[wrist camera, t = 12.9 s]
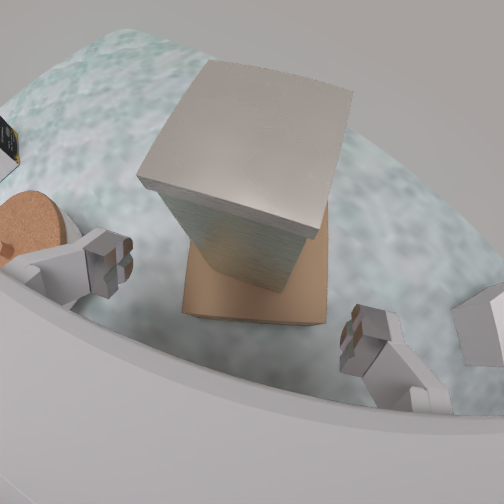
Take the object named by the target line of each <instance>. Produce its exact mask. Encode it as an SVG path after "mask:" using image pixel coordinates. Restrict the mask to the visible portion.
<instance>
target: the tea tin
mask: <svg viewBox="0 0 504 504" xmlns="http://www.w3.org/2000/svg"><path fill="white" fill-rule="evenodd" d="M352 96H353V91H350V90H347V89H344V88H340V87H337V86H334V85H331V84H327V83H324V82H320V81H317V80H313V79H309V78H305V77H301V76H297V75H293V74H289V73H284V72H280V71H275V70H270V69H265V68H260V67H254V66H249V65H243V64H236V63H230V62H223V61H215V60H208V62H207V63H206V64H205V66H204V67H203V68H202V70H201V71H200V73H199V74H198V75H197V77H196V78H195V80H194V81H193V82H192V84H191V85H190V87H189V88H188V90H187V91H186V93H185V94H184V96H183V97H182V98H181V100H180V102H179V103H178V105H177V106H176V108H175V109H174V111H173V112H172V114H171V115H170V117H169V119H168V120H167V122H166V123H165V125H164V127H163V128H162V130H161V132H160V133H159V135H158V137H157V138H156V140H155V142H154V143H153V145H152V147H151V149H150V150H149V152H148V154H147V156H146V157H145V159H144V161H143V163H142V165H141V166H140V168H139V170H138V172H137V174H136V176H137V177H138V179H139V180H140V181H141V183H142V184H143V185H144V187H145V188H146V189H149V190H152V191H156V192H157V193H158V194H159V195H160V197H161V198H162V200H163V201H164V203H165V204H166V206H167V207H168V208H169V210H170V211H171V213H172V214H173V215H174V217H175V218H176V220H177V221H178V222H179V224H180V225H181V227H182V228H183V229H184V231H185V232H186V234H187V235H188V236H189V238H190V239H191V241H192V242H193V243H194V245H195V246H196V248H197V249H198V250H199V252H200V253H201V254H202V256H203V257H204V258H205V260H206V261H207V263H208V264H209V265H210V267H211V268H212V269H213V271H216V272H219V273H222V274H225V275H227V276H230V277H233V278H236V279H239V280H242V281H245V282H248V283H251V284H254V285H257V286H260V287H263V288H266V289H269V290H272V291H275V292H278V293H281V294H282V292H283V290H284V288H285V286H286V283H287V281H288V279H289V277H290V275H291V273H292V271H293V268H294V266H295V264H296V262H297V260H298V258H299V255H300V253H301V251H302V249H303V247H304V244H305V242H306V240H307V238H309V239H312V240H314V239H315V237H316V235H317V233H318V231H319V229H320V225H321V222H322V218H323V215H324V211H325V207H326V204H327V200H328V196H329V193H330V189H331V185H332V181H333V177H334V174H335V170H336V166H337V162H338V158H339V154H340V149H341V145H342V141H343V137H344V133H345V128H346V124H347V120H348V115H349V110H350V106H351V101H352Z"/></svg>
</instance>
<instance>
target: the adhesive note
mask: <svg viewBox="0 0 504 504" xmlns="http://www.w3.org/2000/svg"><path fill="white" fill-rule="evenodd" d="M451 312H452V315H453V318H454V322H455V325H456V329H457V333H458V337H459V340H460V344H461V348H462V353H463V357H464V361H465V365H470V366H490V367H504V283H501V284H498V285H495V286H491V287H488V288H486V289H484V290H483V291H481V292H480V293H478V294H477V295H475V296H474V297H472V298H470V299H469V300H467V301H466V302H464V303H462V304H461V305H459V306H457V307H456V308H454V309H452V310H451Z"/></svg>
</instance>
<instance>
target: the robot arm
mask: <svg viewBox="0 0 504 504" xmlns="http://www.w3.org/2000/svg"><path fill="white" fill-rule="evenodd" d="M132 249H133V241H132V239H131V238H130V237H127V236H124V235H121V234H118V233H115V232H112V231H109V230H106V229H103V228H100V227H96V228H95V229H93V230H92V231H90V232H89V233H87V234H86V235H85V236H83V237H82V238H80V239H79V240H77V241H76V242H75V243H73V244H72V245H71V244H65V245H61V246H56V247H52V248H47V249H43V250H39V251H35V252H30V253H26V254H22V255H18V256H16V257H15V258H14V259H12V260H11V261H10V262H8V263H7V264H6V265H4V266H3V267H2V268H0V504H504V416H460V415H454V413H453V409H452V404H451V400H450V396H449V392H448V390H447V388H446V387H445V386H444V385H443V384H442V383H441V381H440V380H439V379H438V378H437V377H436V376H435V374H434V373H433V372H432V371H431V370H430V369H429V368H428V366H427V365H426V364H425V363H424V362H423V361H422V360H421V359H420V357H419V356H418V355H417V354H416V353H415V352H414V351H413V350H412V348H411V347H410V346H408V345H405V341H404V337H403V333H402V329H401V325H400V321H399V317H398V315H397V313H394V312H390V311H385V310H380V309H376V308H372V307H368V306H364V305H359V304H357V305H356V306H355V307H354V309H353V311H352V313H351V314H352V320H350V321H348V322H347V323H346V325H345V327H344V329H343V331H342V335H341V339H340V349H341V350H342V352H343V353H342V355H341V356H340V372H341V373H345V374H349V375H353V376H358V377H362V380H363V381H364V383H365V385H366V387H367V389H368V390H369V392H370V394H371V396H372V398H373V399H374V401H375V403H376V405H377V407H378V408H374V407H368V406H361V405H355V404H349V403H343V402H338V401H332V400H327V399H322V398H317V397H313V396H308V395H304V394H299V393H295V392H291V391H287V390H283V389H279V388H275V387H271V386H268V385H264V384H260V383H257V382H253V381H250V380H246V379H243V378H239V377H236V376H233V375H229V374H226V373H223V372H220V371H217V370H214V369H211V368H208V367H205V366H202V365H199V364H196V363H193V362H190V361H187V360H184V359H182V358H179V357H176V356H173V355H171V354H168V353H166V352H163V351H160V350H158V349H155V348H153V347H150V346H148V345H145V344H143V343H140V342H138V341H136V340H133V339H131V338H128V337H126V336H124V335H122V334H119V333H117V332H115V331H113V330H110V329H108V328H106V327H104V326H102V325H99V324H97V323H95V322H93V321H91V320H89V319H87V318H85V317H83V316H81V315H79V314H77V313H75V312H73V311H71V310H69V309H67V308H65V307H63V305H65V304H67V303H69V302H72V301H74V300H76V299H78V298H81V297H83V296H85V295H88V294H90V292H91V293H94V294H96V295H99V296H101V297H104V298H107V299H110V298H111V296H112V295H113V294H114V293H115V292H116V291H117V290H118V284H121V283H124V282H126V280H127V279H128V278H129V277H130V274H131V272H132V269H133V258H132V256H131V255H130V252H131V250H132Z"/></svg>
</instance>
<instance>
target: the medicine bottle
mask: <svg viewBox="0 0 504 504" xmlns="http://www.w3.org/2000/svg"><path fill="white" fill-rule="evenodd" d="M18 165H19V154H18V139H17V133H16V132H15V131H14V130H13V129H12V128H11V127H10V126H9V125H8V124H7V123H6V121H5V120H4V119H3V118H2V117H1V116H0V182H1V181H2V180H3V179H4V178H5V177H6V176H7V175H8V174H9V173H10V172H12V171H13V170H14V169H15V168H16V167H17V166H18Z"/></svg>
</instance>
